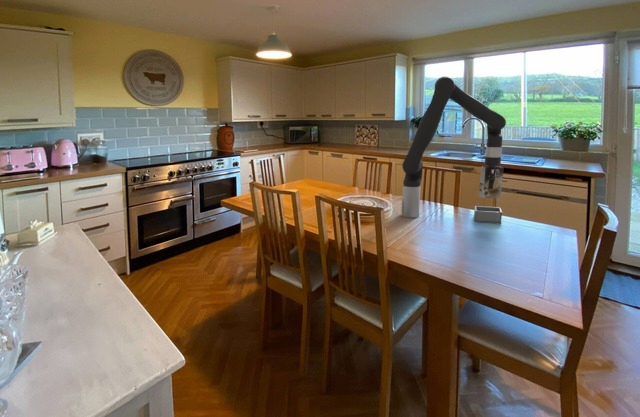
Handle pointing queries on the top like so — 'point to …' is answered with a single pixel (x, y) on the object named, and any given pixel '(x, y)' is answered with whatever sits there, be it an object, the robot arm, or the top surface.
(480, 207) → the bin
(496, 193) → the coffee box
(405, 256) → the top surface
